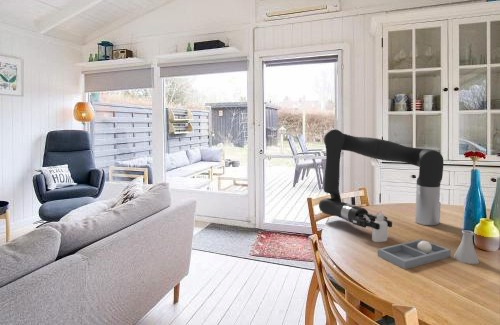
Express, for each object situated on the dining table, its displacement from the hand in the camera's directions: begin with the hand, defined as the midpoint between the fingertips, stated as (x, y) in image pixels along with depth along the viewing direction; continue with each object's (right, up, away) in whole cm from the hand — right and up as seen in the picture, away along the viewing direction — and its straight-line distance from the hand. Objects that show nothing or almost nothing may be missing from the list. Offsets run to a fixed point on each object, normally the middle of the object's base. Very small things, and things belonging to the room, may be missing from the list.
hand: (385, 225), depth 117 cm
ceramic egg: (+9, -7, -10) cm, 15 cm away
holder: (+4, -8, -12) cm, 15 cm away
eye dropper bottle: (-1, -7, +3) cm, 8 cm away
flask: (+20, -9, -15) cm, 26 cm away
